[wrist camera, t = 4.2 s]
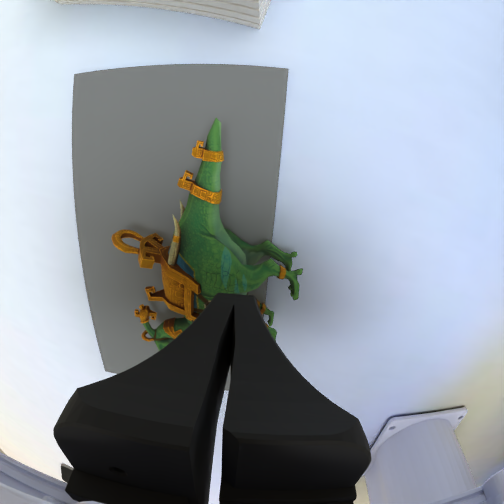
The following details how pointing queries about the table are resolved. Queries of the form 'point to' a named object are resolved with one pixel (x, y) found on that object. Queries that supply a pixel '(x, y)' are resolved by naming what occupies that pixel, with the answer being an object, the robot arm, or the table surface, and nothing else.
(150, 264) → the figurine
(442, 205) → the table surface
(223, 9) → the stack of papers
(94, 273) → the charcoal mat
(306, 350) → the table surface
